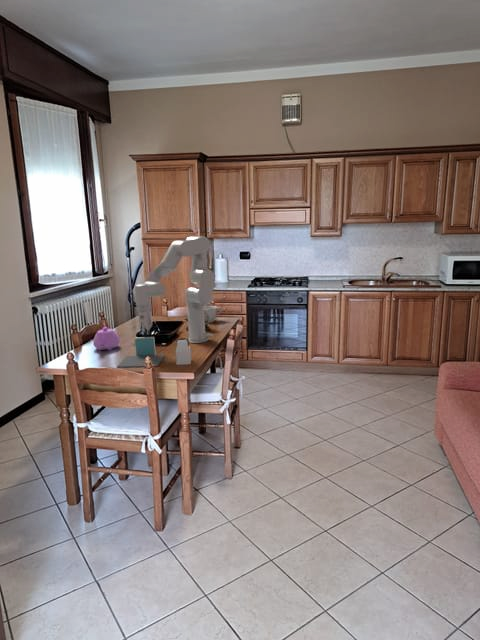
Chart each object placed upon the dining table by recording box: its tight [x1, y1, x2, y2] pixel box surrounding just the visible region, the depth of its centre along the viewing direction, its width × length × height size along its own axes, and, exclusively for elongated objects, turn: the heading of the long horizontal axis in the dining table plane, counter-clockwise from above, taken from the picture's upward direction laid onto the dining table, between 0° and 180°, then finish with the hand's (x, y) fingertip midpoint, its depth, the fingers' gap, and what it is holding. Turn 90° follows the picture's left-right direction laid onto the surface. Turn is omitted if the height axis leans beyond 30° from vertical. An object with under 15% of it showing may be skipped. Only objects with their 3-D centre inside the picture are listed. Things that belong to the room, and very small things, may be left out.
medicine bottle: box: [175, 338, 192, 366], centre depth 219 cm, size 7×7×12 cm
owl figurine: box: [183, 310, 212, 333], centre depth 283 cm, size 18×12×17 cm, turn 65°
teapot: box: [93, 326, 120, 352], centre depth 248 cm, size 20×14×12 cm
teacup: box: [203, 305, 223, 323], centre depth 305 cm, size 12×15×10 cm
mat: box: [116, 354, 165, 368], centre depth 224 cm, size 20×17×1 cm
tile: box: [134, 336, 157, 356], centre depth 232 cm, size 10×2×10 cm, turn 88°
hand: (146, 341), depth 236 cm, fingers closed
